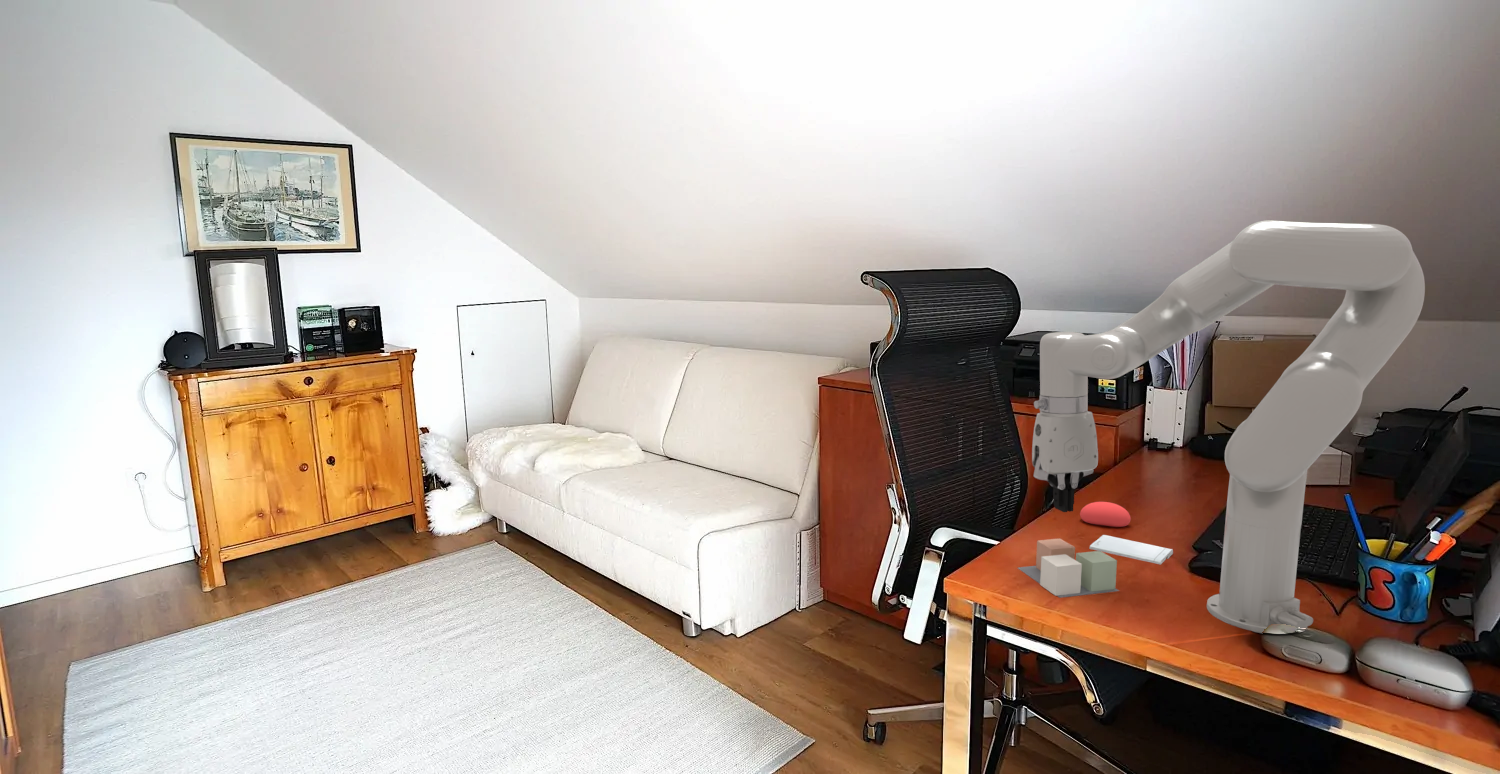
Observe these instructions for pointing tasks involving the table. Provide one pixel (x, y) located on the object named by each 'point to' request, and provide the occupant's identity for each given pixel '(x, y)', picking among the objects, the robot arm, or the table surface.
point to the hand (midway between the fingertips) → (1063, 509)
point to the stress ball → (1105, 514)
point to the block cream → (1060, 574)
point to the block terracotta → (1053, 549)
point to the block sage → (1097, 571)
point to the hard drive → (1131, 549)
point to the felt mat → (1036, 575)
